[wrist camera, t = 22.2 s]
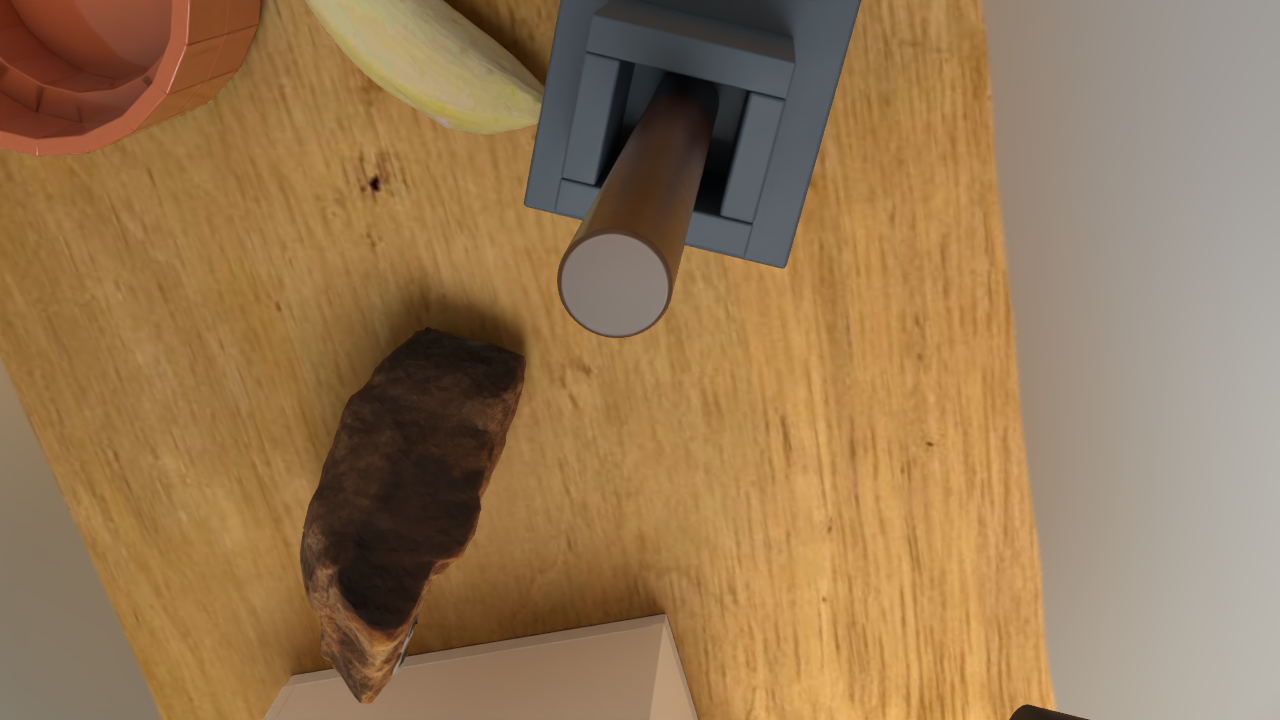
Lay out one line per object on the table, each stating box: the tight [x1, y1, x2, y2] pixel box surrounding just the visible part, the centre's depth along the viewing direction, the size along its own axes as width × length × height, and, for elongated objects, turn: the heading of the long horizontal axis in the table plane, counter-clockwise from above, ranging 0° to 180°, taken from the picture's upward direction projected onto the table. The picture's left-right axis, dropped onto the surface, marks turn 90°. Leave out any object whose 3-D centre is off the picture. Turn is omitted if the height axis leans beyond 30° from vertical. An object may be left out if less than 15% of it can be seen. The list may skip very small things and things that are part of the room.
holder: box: [524, 0, 861, 268], centre depth 33 cm, size 7×7×16 cm
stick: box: [557, 72, 719, 338], centre depth 22 cm, size 2×2×14 cm
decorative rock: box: [300, 327, 526, 704], centre depth 42 cm, size 12×6×11 cm, turn 154°
